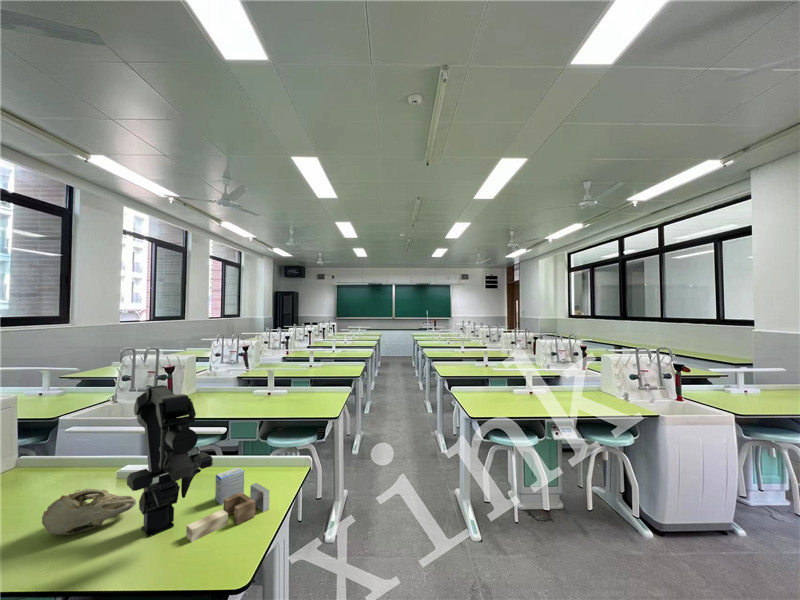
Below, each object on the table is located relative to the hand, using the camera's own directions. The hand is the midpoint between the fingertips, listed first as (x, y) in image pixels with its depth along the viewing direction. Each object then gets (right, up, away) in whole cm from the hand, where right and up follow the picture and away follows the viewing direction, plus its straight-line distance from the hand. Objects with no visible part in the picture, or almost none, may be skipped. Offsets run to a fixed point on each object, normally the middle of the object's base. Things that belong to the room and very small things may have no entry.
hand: (171, 501), depth 93 cm
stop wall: (+16, -13, +19) cm, 28 cm away
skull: (-30, -13, +9) cm, 34 cm away
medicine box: (+3, -13, +25) cm, 28 cm away
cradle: (+12, -12, +14) cm, 22 cm away
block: (+6, -13, +7) cm, 16 cm away
